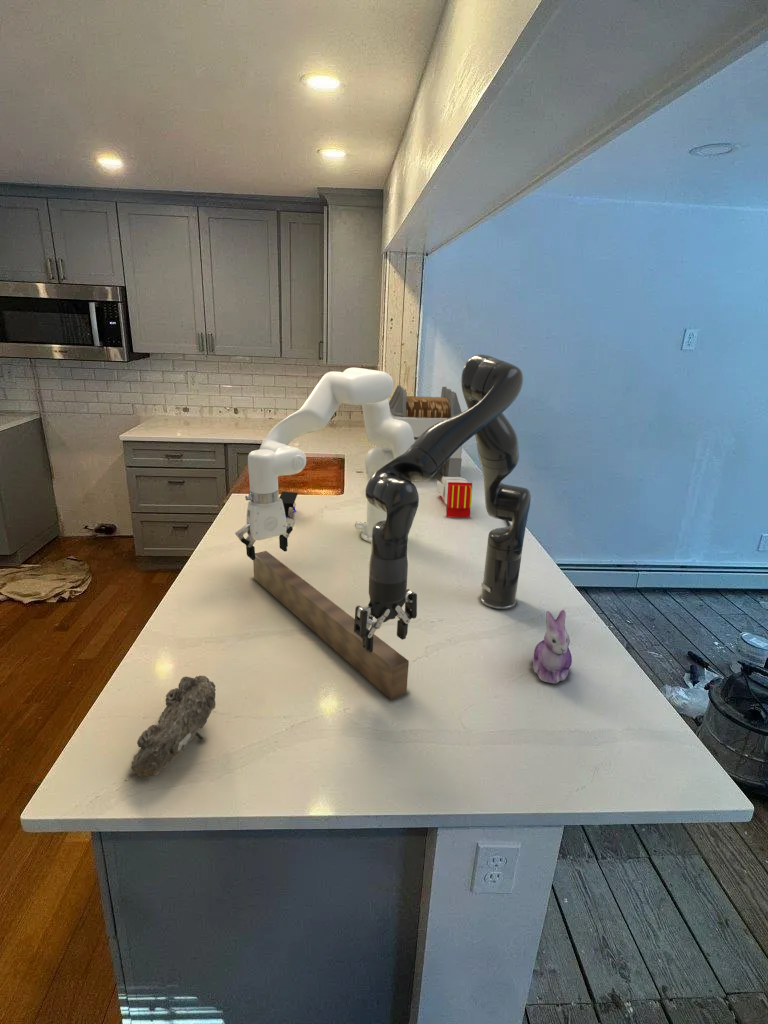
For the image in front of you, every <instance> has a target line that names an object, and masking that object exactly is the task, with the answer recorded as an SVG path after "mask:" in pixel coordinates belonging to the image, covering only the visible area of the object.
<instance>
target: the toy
mask: <svg viewBox="0 0 768 1024" xmlns="http://www.w3.org/2000/svg"><path fill="white" fill-rule="evenodd" d="M435 491H436V492H437V493H438V494H439V495H438V497H439V499H441V500H442V502H444V503H445V505H446V513H445V517H446V518H471V509H472V497H473V482H468V480H466V479H465V478H464V477H462V476H460V477H444V476H441V481H440V480H437V481H436V490H435Z"/></svg>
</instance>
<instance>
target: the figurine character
mask: <svg viewBox="0 0 768 1024" xmlns="http://www.w3.org/2000/svg"><path fill="white" fill-rule="evenodd" d="M298 494H299V493H298V492H293V491H281V493H280V494H279V498H281V499H282V502H283V506H284V510H285V516H286V517H288V518H292V517H294V514H295V513H297V509H296V505H297V504H296V500H297V497H298Z"/></svg>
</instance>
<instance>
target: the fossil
mask: <svg viewBox="0 0 768 1024" xmlns="http://www.w3.org/2000/svg"><path fill="white" fill-rule="evenodd" d="M216 686H217V685H215V682H213V681H211V680H210V679H209V678H208V677H207V676H206V675H196V676H195V677H191V676H183V677H182V678H180V681H179V683H178V687H175V688H171V689H170V690H169V691H168V692H167V693H166V695H165V706H166V707H165V708H164V709H163V711H162V712H161V715H160V716H159V718H158V721H157V723H158V724H157V725H156V724H151V725H150V726H148V728H147V729H145V730H144V731H142V733H141V735H140V736H139V737H138V739H137V742H136V744H137V746H138V748H139V750H138V751H137V753H136V754H134V755H133V761H132V762H131V766H130V768H131V770H132V774H134V775H137V776H139V777H141V778H142V777H147V776H158V775H159V774H161V772H163V770H164V769H165V768H166V767H167V766H169V765H170V764H171V763H172V762H173V761H174V760H175V759H176V758H177V757H178V756H179V755H180V754H181V753H182V752H183V751H185V748H187V746H188V743H190V742H191V741H192V740H193V738H195V736H196V737H197V738H198V739H199V740H200V741H202V740H204V737H203V735H201V734H200V733H199V732H198V731H199V729H203V728H204V726H205V725H206V723H207V722H208V719H209V717H210V715H211V714H212V711H213V710H214V709H215V708H216V690H217V689H216Z"/></svg>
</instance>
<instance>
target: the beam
mask: <svg viewBox="0 0 768 1024" xmlns="http://www.w3.org/2000/svg"><path fill="white" fill-rule="evenodd" d="M252 562H253V563H252V564H253V579H254V580H255V581H256V582H257V583H259V585H261V587H263V588H264V589H265V590H266V591H267V592H269V593H270V594H271V595H272V596H273V597H274V598H275V599H276V600H278V601H279V602H280V603H281V604H282V605H283V606H284V607H286V608H287V609H288V610H289V611H290V613H292V614H293V615H294V616H296V617H297V618H298V619H299V620H300V621H301V622H302V623H304V624H305V625H306V626H307V627H308V628H309V629H311V631H313V632H314V633H315V634H316V635H317V636H318V637H319V638H320V639H322V640H323V641H324V642H325V643H326V644H327V645H328V646H330V647H331V648H332V649H333V650H334V651H335V652H336V653H338V654H339V655H340V656H341V657H342V658H344V660H345V661H347V662H348V663H349V664H350V665H351V666H352V667H353V668H354V669H356V670H357V671H358V672H359V673H360V674H361V675H363V677H365V678H366V679H367V680H368V681H369V682H370V683H372V685H374V686H375V687H376V688H377V689H378V690H379V691H380V692H382V693H383V694H384V695H385V696H386V697H387V698H388V699H389V700H391V701H392V700H394V699H397V698H398V697H401V696H403V695H405V694H407V693H408V678H409V665H410V661H409V659H407V658H406V657H405V656H403V655H402V654H401V653H399V652H398V651H396V649H394V648H393V647H392V646H390V645H389V644H388V643H386V642H385V641H384V640H382V639H381V638H380V637H379V636H377V635H376V634H375V633H374V634H373V652H371V653H368V652H367V651H366V650H365V649H364V648H363V647H362V638H361V637H360V636H359V635H357V634H356V633H355V632H354V621H355V617H353V616H351V615H350V614H349V613H347V612H346V611H345V610H344V609H343V608H341V607H340V606H338V605H337V604H336V603H335V602H333V601H332V600H330V598H328V597H327V596H326V595H324V594H323V593H321V592H320V591H319V590H318V589H317V588H315V587H314V586H313V585H311V584H310V583H309V582H307V581H306V580H305V579H303V578H302V577H301V576H300V575H298V574H297V573H296V572H294V571H293V570H292V569H290V568H289V567H288V566H286V565H285V564H284V563H282V562H281V561H280V560H279V559H278V558H276V557H275V555H274V556H273V555H272V554H271V553H270V552H268V551H267V550H263V551H259V552H255V560H252Z"/></svg>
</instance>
